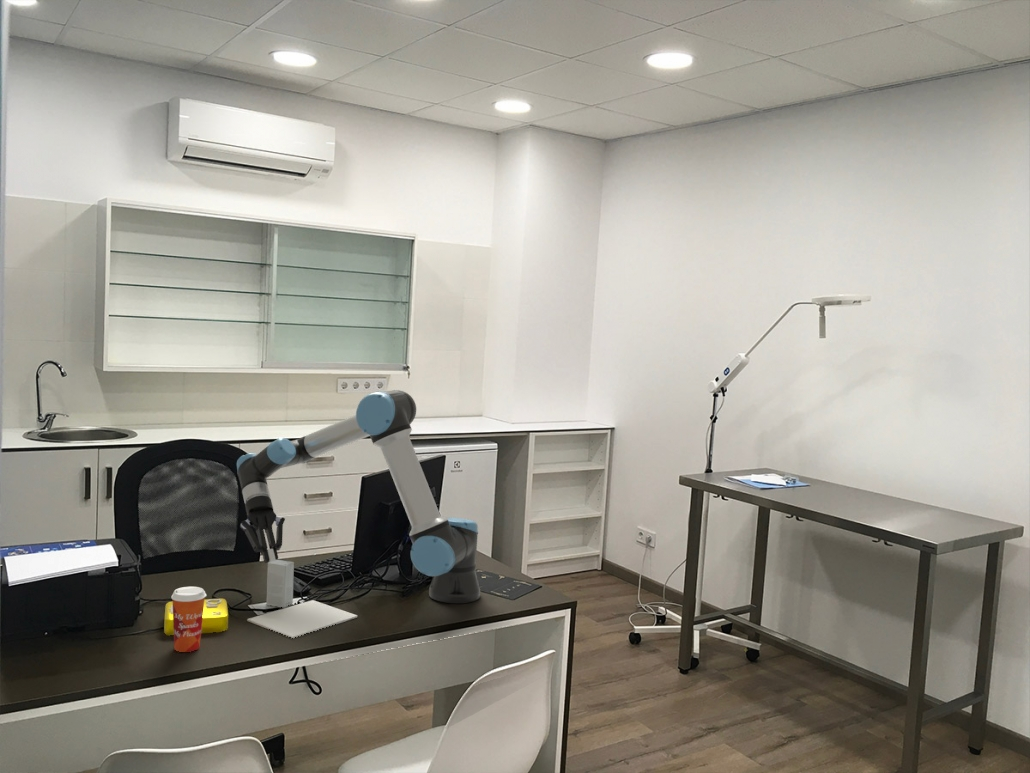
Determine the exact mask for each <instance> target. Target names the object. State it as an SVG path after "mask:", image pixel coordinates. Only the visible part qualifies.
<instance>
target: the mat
mask: <svg viewBox="0 0 1030 773" xmlns="http://www.w3.org/2000/svg"><path fill="white" fill-rule="evenodd" d="M356 618H358V615H357V614H354V613H351V612H348V611H345V610H343V609H340V608H337V607H334V606H331V605H328V604H325V603H322V602H319V601H316V600H314V599H312V600H308V601H305V602H302V603H301V602H300V603H299V604H295V605H290V606H287V607H285V608H279V609H278V610H274V611H270V612H267V613H263V614H260V615H257V616H254V617H250V618H247V619H246V621H247V622H249V623H252V624H253V625H257V626H259V627H261V628H265V629H267V630H269V629H270V630H269V631H271V630H273V631H272V632H274V631H275V632H274V633H276V632H278V633H277V634H279V633H281V634H283V635H282V636H284V635H286V636H285V637H287V636H288V637H287V638H289V637H291V638H290V639H292V638H293V639H296V638H299V637H302V636H305V635H304V634H306V633H309V634H311V633H310V632H312V633H314V632H313V631H315V632H317V630H318V631H320V630H319V629H321V630H323V629H322V628H324V629H327V628H329V626H330V627H332V625H333V626H336V625H339V624H342V623H344V622H347V621H351V620H353V619H356ZM335 624H336V625H335ZM326 627H327V628H326ZM281 634H280V635H281ZM301 635H302V636H301ZM306 635H307V634H306ZM298 636H299V637H298ZM295 637H296V638H295Z"/></svg>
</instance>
